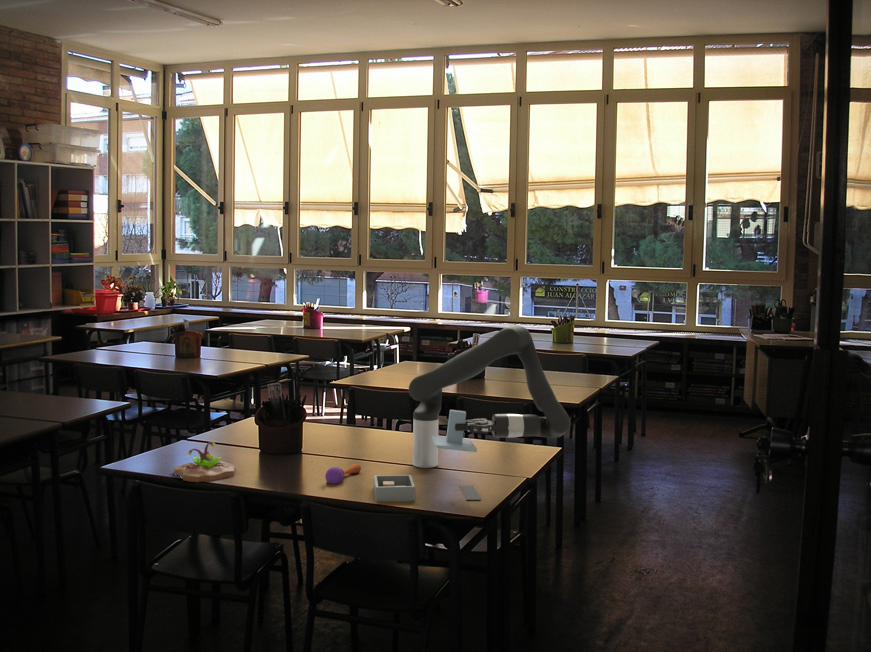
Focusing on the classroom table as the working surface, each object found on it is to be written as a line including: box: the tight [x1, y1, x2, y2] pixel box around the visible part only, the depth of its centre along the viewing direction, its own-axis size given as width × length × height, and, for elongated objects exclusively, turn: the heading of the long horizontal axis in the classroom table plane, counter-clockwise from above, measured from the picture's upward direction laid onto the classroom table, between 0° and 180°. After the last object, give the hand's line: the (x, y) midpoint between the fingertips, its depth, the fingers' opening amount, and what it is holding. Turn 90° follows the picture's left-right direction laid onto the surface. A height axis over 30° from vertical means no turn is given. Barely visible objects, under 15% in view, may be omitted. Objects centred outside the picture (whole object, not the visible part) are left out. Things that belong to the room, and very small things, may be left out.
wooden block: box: [383, 481, 394, 487], centre depth 256 cm, size 4×4×3 cm
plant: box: [173, 441, 237, 483], centre depth 276 cm, size 20×20×11 cm
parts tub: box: [373, 474, 416, 503], centre depth 253 cm, size 14×12×5 cm
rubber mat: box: [458, 484, 482, 501], centre depth 258 cm, size 16×14×1 cm
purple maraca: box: [324, 462, 362, 485], centre depth 273 cm, size 6×6×20 cm
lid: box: [432, 409, 478, 453], centre depth 256 cm, size 15×13×11 cm
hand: (454, 426), depth 256 cm, fingers closed on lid, 2 cm apart
